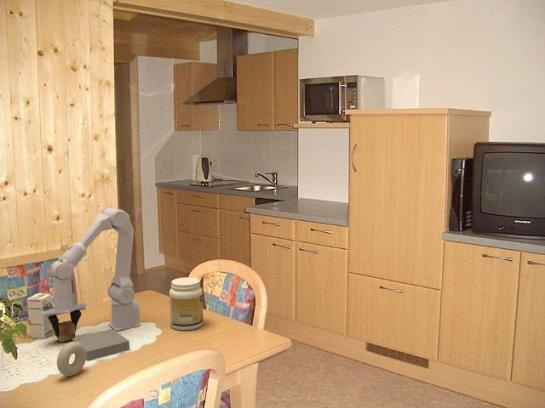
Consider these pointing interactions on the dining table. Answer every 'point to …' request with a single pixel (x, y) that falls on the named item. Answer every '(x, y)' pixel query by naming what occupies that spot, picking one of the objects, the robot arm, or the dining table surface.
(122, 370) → the dining table surface
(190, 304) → the supplement tub
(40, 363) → the dining table surface
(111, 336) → the slate plinth
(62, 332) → the walnut block
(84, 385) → the dining table surface
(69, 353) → the donut
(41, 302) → the syrup box
